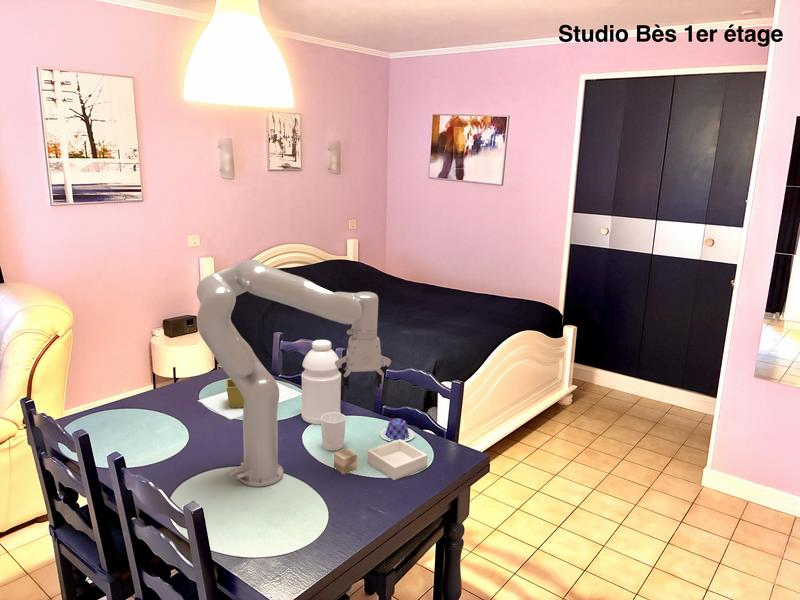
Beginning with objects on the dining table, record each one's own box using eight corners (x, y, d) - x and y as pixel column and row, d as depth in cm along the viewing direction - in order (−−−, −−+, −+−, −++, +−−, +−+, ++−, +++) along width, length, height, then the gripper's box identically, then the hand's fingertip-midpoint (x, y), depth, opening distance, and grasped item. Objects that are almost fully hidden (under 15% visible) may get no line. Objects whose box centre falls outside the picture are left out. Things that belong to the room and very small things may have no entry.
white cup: (341, 453, 187) (341, 424, 185) (317, 450, 188) (317, 421, 186) (348, 442, 195) (348, 413, 192) (325, 439, 196) (325, 411, 194)
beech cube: (343, 474, 175) (343, 459, 173) (333, 467, 178) (333, 452, 177) (357, 469, 178) (357, 454, 177) (347, 463, 181) (347, 448, 180)
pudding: (408, 446, 194) (409, 432, 193) (374, 440, 197) (374, 425, 196) (419, 431, 205) (419, 417, 204) (386, 425, 208) (387, 411, 207)
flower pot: (226, 401, 223) (225, 378, 220) (250, 399, 225) (250, 377, 223) (227, 411, 214) (226, 387, 212) (252, 408, 217) (251, 385, 215)
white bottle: (323, 428, 203) (324, 351, 197) (293, 418, 210) (292, 343, 204) (348, 414, 215) (349, 341, 209) (318, 405, 222) (319, 334, 216)
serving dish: (394, 480, 172) (394, 467, 172) (367, 462, 182) (367, 450, 181) (427, 467, 181) (427, 455, 180) (399, 450, 190) (400, 439, 189)
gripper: (337, 337, 172) (336, 393, 176) (395, 336, 177) (392, 390, 180) (333, 330, 179) (332, 384, 183) (389, 329, 184) (386, 381, 187)
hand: (362, 386), depth 182 cm, fingers open, 9 cm apart
